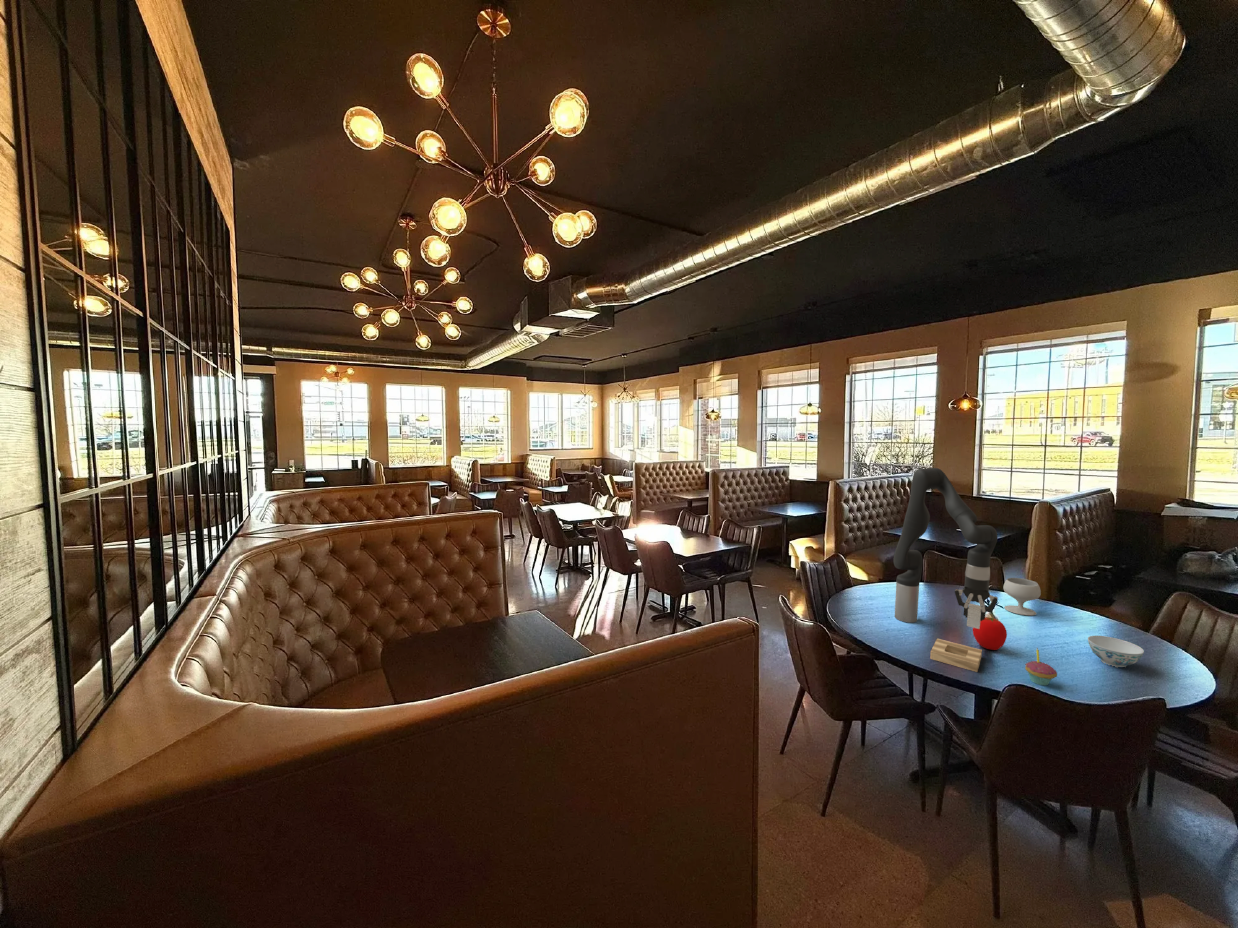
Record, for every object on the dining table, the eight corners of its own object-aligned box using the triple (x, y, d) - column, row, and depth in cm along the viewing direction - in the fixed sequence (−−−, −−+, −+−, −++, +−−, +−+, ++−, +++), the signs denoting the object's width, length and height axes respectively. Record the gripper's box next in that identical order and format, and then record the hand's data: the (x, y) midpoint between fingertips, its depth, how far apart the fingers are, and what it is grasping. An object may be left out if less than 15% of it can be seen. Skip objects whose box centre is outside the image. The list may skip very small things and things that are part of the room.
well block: (936, 645, 200) (937, 638, 199) (981, 657, 190) (982, 649, 189) (930, 658, 188) (930, 651, 188) (977, 672, 178) (977, 664, 178)
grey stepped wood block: (967, 621, 191) (969, 603, 190) (980, 624, 188) (982, 605, 187) (966, 627, 185) (967, 608, 184) (979, 630, 183) (980, 611, 182)
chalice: (1035, 609, 236) (1038, 580, 235) (1041, 619, 224) (1044, 588, 223) (1000, 603, 244) (1002, 575, 242) (1003, 613, 232) (1006, 583, 230)
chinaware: (1084, 650, 195) (1085, 632, 194) (1137, 661, 185) (1139, 642, 185) (1088, 664, 183) (1090, 645, 183) (1145, 678, 174) (1148, 657, 173)
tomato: (991, 655, 190) (994, 625, 189) (965, 643, 201) (967, 614, 200) (1012, 652, 193) (1015, 621, 192) (986, 640, 204) (988, 611, 203)
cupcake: (1017, 676, 176) (1020, 644, 174) (1039, 675, 176) (1041, 643, 175) (1040, 689, 167) (1043, 656, 166) (1062, 688, 168) (1065, 655, 167)
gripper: (1001, 577, 183) (997, 620, 185) (956, 569, 192) (952, 610, 194) (1000, 583, 177) (996, 627, 179) (953, 574, 186) (950, 616, 188)
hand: (973, 618), depth 186 cm, fingers closed on grey stepped wood block, 4 cm apart
